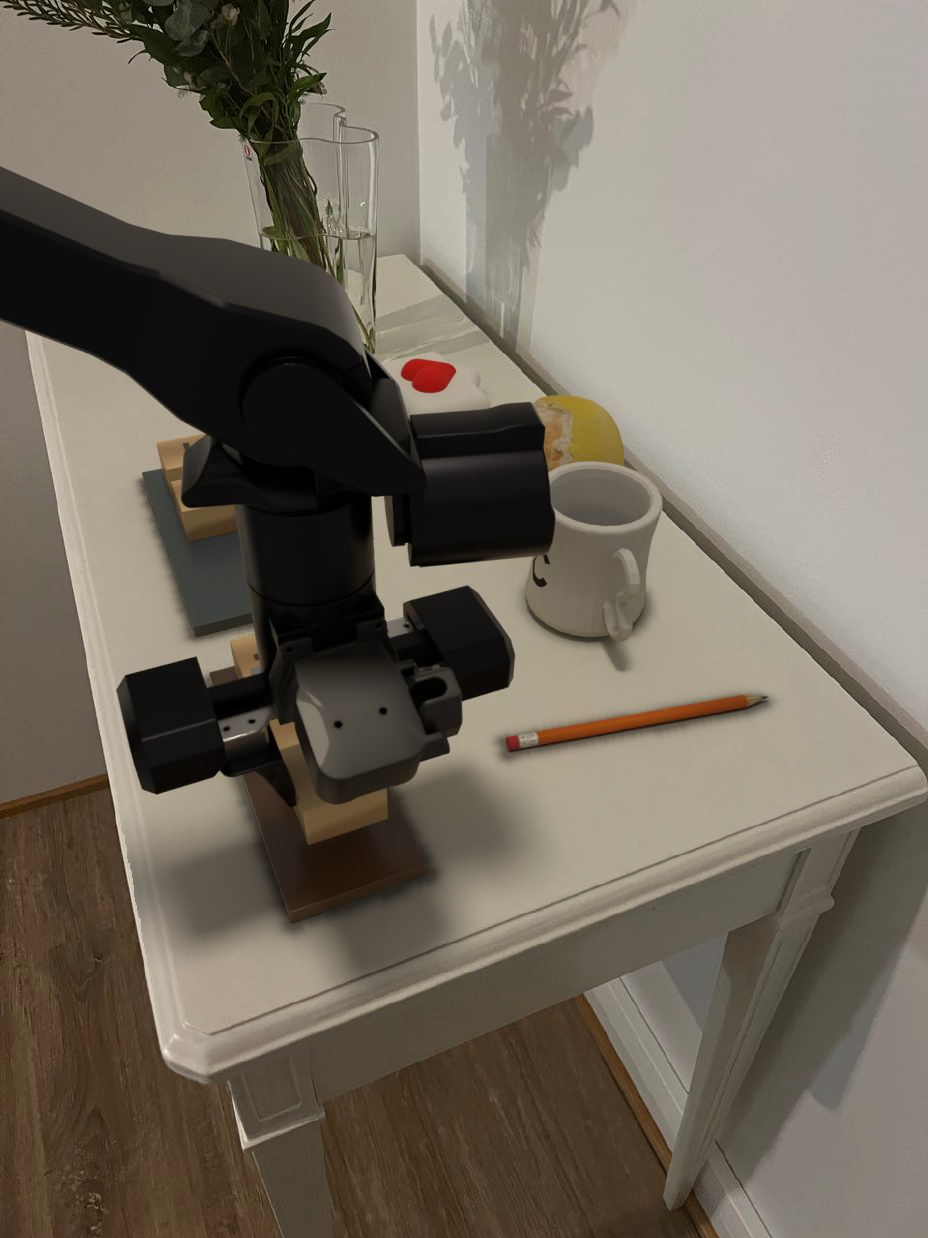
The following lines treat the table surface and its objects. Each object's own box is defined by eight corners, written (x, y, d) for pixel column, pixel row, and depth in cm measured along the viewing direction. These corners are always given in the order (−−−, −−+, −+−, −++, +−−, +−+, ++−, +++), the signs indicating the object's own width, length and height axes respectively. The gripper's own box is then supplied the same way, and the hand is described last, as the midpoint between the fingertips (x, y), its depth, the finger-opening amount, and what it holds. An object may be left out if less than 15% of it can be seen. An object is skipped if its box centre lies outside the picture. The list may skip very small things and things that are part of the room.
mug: (510, 574, 75) (518, 466, 68) (617, 559, 76) (635, 453, 70) (560, 682, 66) (575, 570, 59) (679, 662, 67) (707, 552, 61)
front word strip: (426, 874, 54) (426, 832, 51) (291, 923, 51) (283, 881, 48) (321, 652, 67) (317, 609, 65) (210, 682, 65) (201, 639, 62)
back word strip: (302, 609, 71) (297, 567, 68) (195, 637, 68) (186, 594, 65) (233, 463, 86) (226, 424, 83) (143, 481, 83) (134, 441, 80)
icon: (511, 378, 90) (418, 400, 86) (509, 418, 93) (418, 441, 89) (452, 329, 98) (365, 347, 94) (452, 367, 101) (366, 386, 97)
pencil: (505, 743, 61) (506, 734, 61) (764, 696, 65) (767, 687, 65) (509, 753, 61) (510, 744, 60) (770, 705, 65) (774, 696, 64)
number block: (388, 819, 52) (386, 783, 50) (308, 846, 50) (302, 811, 48) (361, 759, 55) (358, 724, 53) (284, 783, 53) (278, 748, 51)
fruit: (554, 462, 87) (564, 362, 80) (641, 515, 81) (660, 412, 74) (471, 500, 82) (475, 397, 75) (557, 560, 76) (570, 453, 69)
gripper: (121, 758, 33) (194, 977, 43) (584, 624, 39) (551, 845, 49) (81, 574, 40) (151, 798, 51) (473, 485, 46) (465, 702, 57)
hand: (333, 787), depth 52 cm, fingers closed on number block, 4 cm apart
